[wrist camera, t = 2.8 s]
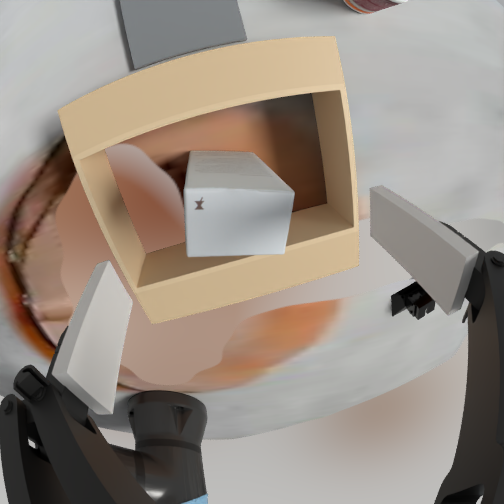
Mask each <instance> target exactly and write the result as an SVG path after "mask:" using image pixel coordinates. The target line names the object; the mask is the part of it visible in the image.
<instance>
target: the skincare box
mask: <svg viewBox="0 0 504 504" xmlns="http://www.w3.org/2000/svg"><path fill="white" fill-rule="evenodd" d="M294 195H295V192H294V191H293V190H292V189H291V188H290V187H289V186H288V185H287V184H286V183H285V182H284V181H283V180H282V179H281V178H280V177H279V176H277V175H276V174H275V173H274V172H273V171H272V170H271V169H270V168H269V167H268V166H267V165H266V164H265V163H264V162H263V161H262V160H261V159H260V158H259V157H258V156H256V155H255V154H254V153H253V152H238V151H190V154H189V161H188V166H187V173H186V182H185V187H184V217H185V240H186V254H187V256H188V257H209V256H240V255H276V254H281V255H282V254H284V253H285V247H286V242H287V236H288V231H289V225H290V219H291V214H292V208H293V201H294Z"/></svg>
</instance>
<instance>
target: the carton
mask: <svg viewBox="0 0 504 504" xmlns="http://www.w3.org/2000/svg"><path fill="white" fill-rule="evenodd" d="M306 93H311V94H312V99H313V104H314V110H315V116H316V122H317V128H318V134H319V140H320V147H321V154H322V162H323V169H324V177H325V186H326V195H327V204H323V205H319V206H315V207H311V208H307V209H303V210H299V211H295V212H292V214H291V219H290V225H289V231H288V236H287V242H286V247H285V253H284V254H282V255H281V254H276V255H240V256H209V257H188V256H187V254H186V242H184V243H180V244H177V245H174V246H170V247H167V248H164V249H161V250H157V251H154V252H151V253H148V254H146V252H145V250H144V248H143V246H142V244H141V241H140V239H139V237H138V235H137V233H136V230H135V228H134V225H133V223H132V221H131V219H130V216H129V213H128V211H127V209H126V206H125V204H124V201H123V199H122V196H121V194H120V191H119V188H118V186H117V183H116V180H115V178H114V175H113V172H112V169H111V166H110V164H109V161H108V158H107V155H106V152H105V148H108V147H110V146H112V145H115V144H117V143H120V142H122V141H125V140H127V139H130V138H132V137H135V136H137V135H140V134H143V133H145V132H148V131H151V130H154V129H157V128H160V127H163V126H166V125H169V124H172V123H175V122H178V121H181V120H184V119H188V118H191V117H195V116H198V115H202V114H205V113H209V112H213V111H217V110H221V109H225V108H229V107H233V106H238V105H242V104H247V103H252V102H257V101H262V100H267V99H273V98H279V97H285V96H291V95H298V94H306ZM58 114H59V117H60V121H61V124H62V128H63V131H64V134H65V138H66V141H67V144H68V147H69V150H70V153H71V156H72V159H73V162H74V165H75V167H76V170H77V173H78V175H79V178H80V181H81V183H82V186H83V188H84V191H85V193H86V196H87V198H88V201H89V203H90V205H91V208H92V210H93V212H94V214H95V217H96V219H97V221H98V224H99V226H100V228H101V230H102V232H103V234H104V236H105V239H106V241H107V243H108V245H109V247H110V249H111V251H112V253H113V255H114V257H115V259H116V261H117V263H118V264H119V266H120V268H121V270H122V272H123V274H124V276H125V278H126V280H127V281H128V283H129V285H130V287H131V289H132V291H133V292H134V294H135V296H136V298H137V299H138V301H139V303H140V304H141V306H142V308H143V309H144V311H145V313H146V314H147V316H148V318H149V319H150V321H151V323H152V324H156V323H160V322H164V321H168V320H172V319H177V318H181V317H185V316H189V315H193V314H197V313H201V312H204V311H208V310H212V309H215V308H220V307H223V306H227V305H231V304H235V303H238V302H242V301H245V300H249V299H253V298H256V297H259V296H263V295H267V294H270V293H273V292H277V291H280V290H283V289H287V288H290V287H293V286H297V285H300V284H304V283H307V282H310V281H313V280H316V279H319V278H323V277H326V276H329V275H332V274H335V273H338V272H341V271H345V270H348V269H350V268H354V267H357V266H359V224H358V223H359V219H358V195H357V179H356V166H355V155H354V145H353V136H352V128H351V120H350V113H349V106H348V100H347V94H346V88H345V82H344V77H343V71H342V66H341V62H340V57H339V52H338V48H337V43H336V39H335V36H318V37H296V38H284V39H274V40H265V41H258V42H251V43H244V44H238V45H233V46H228V47H223V48H218V49H213V50H209V51H205V52H200V53H197V54H193V55H189V56H185V57H182V58H178V59H175V60H172V61H168V62H165V63H162V64H159V65H156V66H153V67H150V68H147V69H145V70H142V71H139V72H137V73H134V74H131V75H129V76H126V77H124V78H121V79H119V80H117V81H114V82H112V83H110V84H108V85H105V86H103V87H101V88H99V89H97V90H95V91H93V92H91V93H89V94H87V95H85V96H83V97H81V98H79V99H77V100H75V101H73V102H71V103H69V104H68V105H66V106H64V107H62V108H61V109H59V110H58Z"/></svg>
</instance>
